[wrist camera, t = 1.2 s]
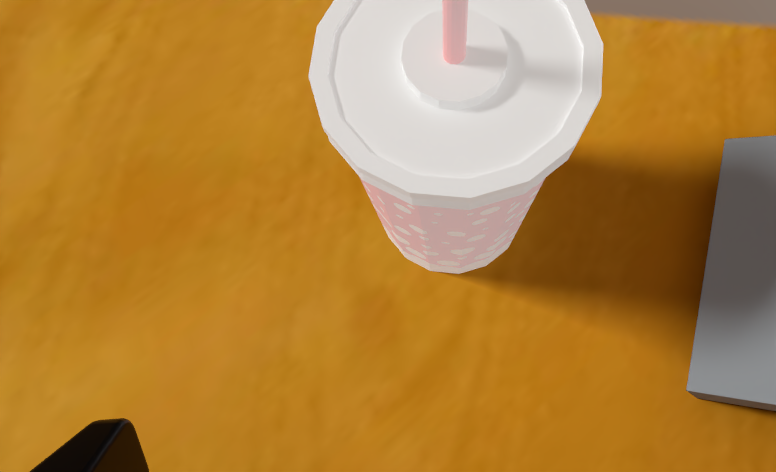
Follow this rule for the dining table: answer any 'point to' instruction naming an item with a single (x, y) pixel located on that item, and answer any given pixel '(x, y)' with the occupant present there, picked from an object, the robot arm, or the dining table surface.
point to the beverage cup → (455, 112)
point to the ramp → (740, 283)
